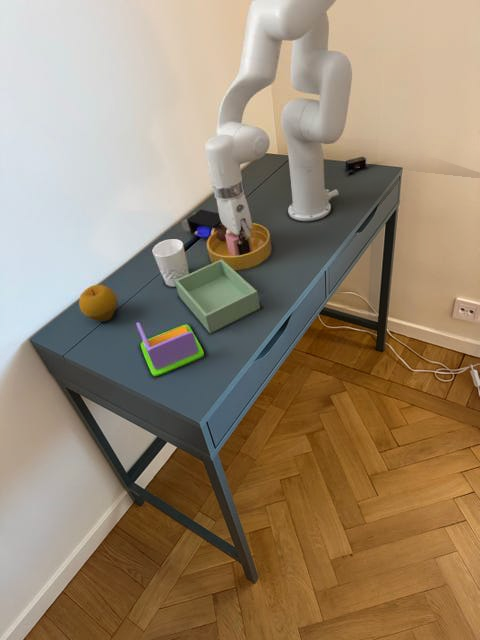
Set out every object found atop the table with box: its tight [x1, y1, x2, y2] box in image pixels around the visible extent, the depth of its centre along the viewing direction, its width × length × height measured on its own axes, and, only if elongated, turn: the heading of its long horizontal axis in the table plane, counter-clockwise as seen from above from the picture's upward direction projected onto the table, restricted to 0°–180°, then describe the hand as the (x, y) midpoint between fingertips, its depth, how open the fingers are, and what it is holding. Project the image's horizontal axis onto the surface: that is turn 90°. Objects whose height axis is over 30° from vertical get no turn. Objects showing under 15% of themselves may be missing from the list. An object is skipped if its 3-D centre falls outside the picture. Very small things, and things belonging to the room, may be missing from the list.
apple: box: [78, 284, 118, 322], centre depth 112 cm, size 9×9×9 cm
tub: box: [175, 259, 261, 334], centre depth 110 cm, size 13×17×5 cm
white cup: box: [152, 238, 190, 288], centre depth 119 cm, size 8×8×10 cm
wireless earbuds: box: [345, 156, 367, 175], centre depth 152 cm, size 5×7×3 cm, turn 102°
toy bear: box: [225, 228, 252, 256], centre depth 123 cm, size 5×5×10 cm
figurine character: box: [181, 209, 227, 241], centre depth 133 cm, size 7×8×15 cm
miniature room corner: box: [135, 321, 205, 377], centre depth 99 cm, size 12×12×7 cm
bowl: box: [206, 222, 273, 271], centre depth 125 cm, size 17×17×4 cm
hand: (239, 249), depth 126 cm, fingers closed on toy bear, 4 cm apart
